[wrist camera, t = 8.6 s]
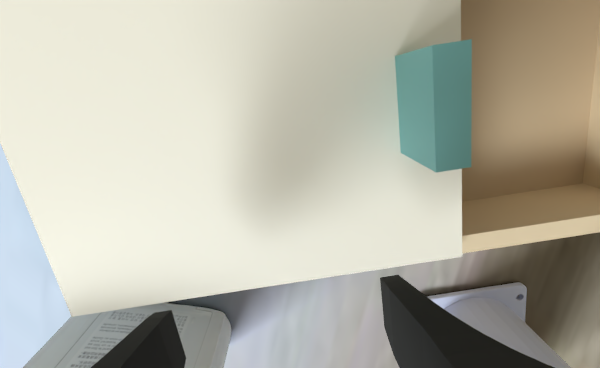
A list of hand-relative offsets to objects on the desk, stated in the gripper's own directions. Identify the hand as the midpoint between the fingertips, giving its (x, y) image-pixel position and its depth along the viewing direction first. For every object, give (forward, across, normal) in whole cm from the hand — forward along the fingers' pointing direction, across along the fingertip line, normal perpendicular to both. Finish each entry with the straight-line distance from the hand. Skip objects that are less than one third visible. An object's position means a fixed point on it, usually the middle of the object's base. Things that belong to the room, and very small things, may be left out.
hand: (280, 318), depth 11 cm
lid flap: (+5, +1, -6) cm, 8 cm away
